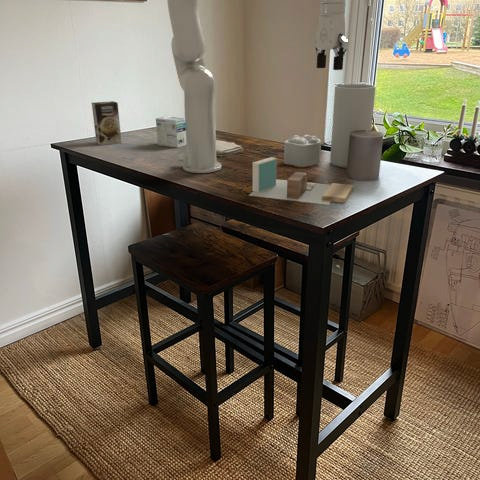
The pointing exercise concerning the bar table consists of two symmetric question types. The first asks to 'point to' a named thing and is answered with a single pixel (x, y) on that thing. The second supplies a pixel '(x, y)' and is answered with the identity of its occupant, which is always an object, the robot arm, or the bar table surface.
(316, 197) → the mat
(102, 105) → the coffee box
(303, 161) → the lumpy-topped squat cylinder
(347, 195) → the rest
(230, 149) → the washcloth
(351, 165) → the pillar candle
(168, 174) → the bar table surface
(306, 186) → the light wood block
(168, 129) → the light bulb box
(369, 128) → the cylinder vase
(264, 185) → the tile
